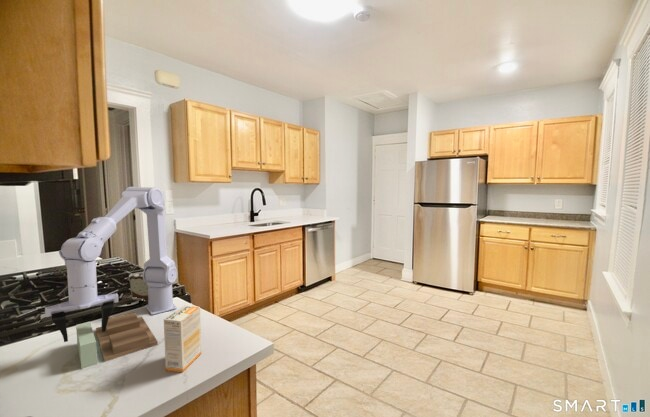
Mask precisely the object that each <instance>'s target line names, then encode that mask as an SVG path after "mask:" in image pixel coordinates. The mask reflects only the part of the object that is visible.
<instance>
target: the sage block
mask: <svg viewBox="0 0 650 417" xmlns="http://www.w3.org/2000/svg"><path fill="white" fill-rule="evenodd" d="M75 327H76V342H77V343H76V344H77V350H78V356H79V363H80V368H81V370H83V369H86V368H89V367H92V366H96V365H98V358H97V357H98V356H97V341H96V337H95V333H94V330H93V327H92V324H91V321H87V322H83V323H78V324H75Z"/></svg>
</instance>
